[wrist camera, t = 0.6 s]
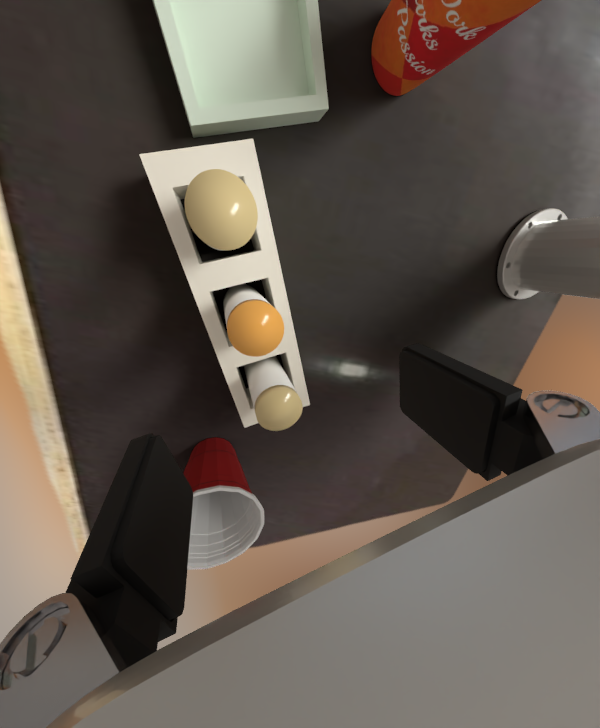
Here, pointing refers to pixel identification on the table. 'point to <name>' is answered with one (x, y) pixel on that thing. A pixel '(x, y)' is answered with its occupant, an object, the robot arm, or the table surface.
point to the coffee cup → (433, 36)
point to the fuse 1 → (221, 209)
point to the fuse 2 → (272, 394)
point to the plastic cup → (220, 505)
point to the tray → (245, 62)
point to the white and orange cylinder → (251, 321)
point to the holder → (170, 185)
